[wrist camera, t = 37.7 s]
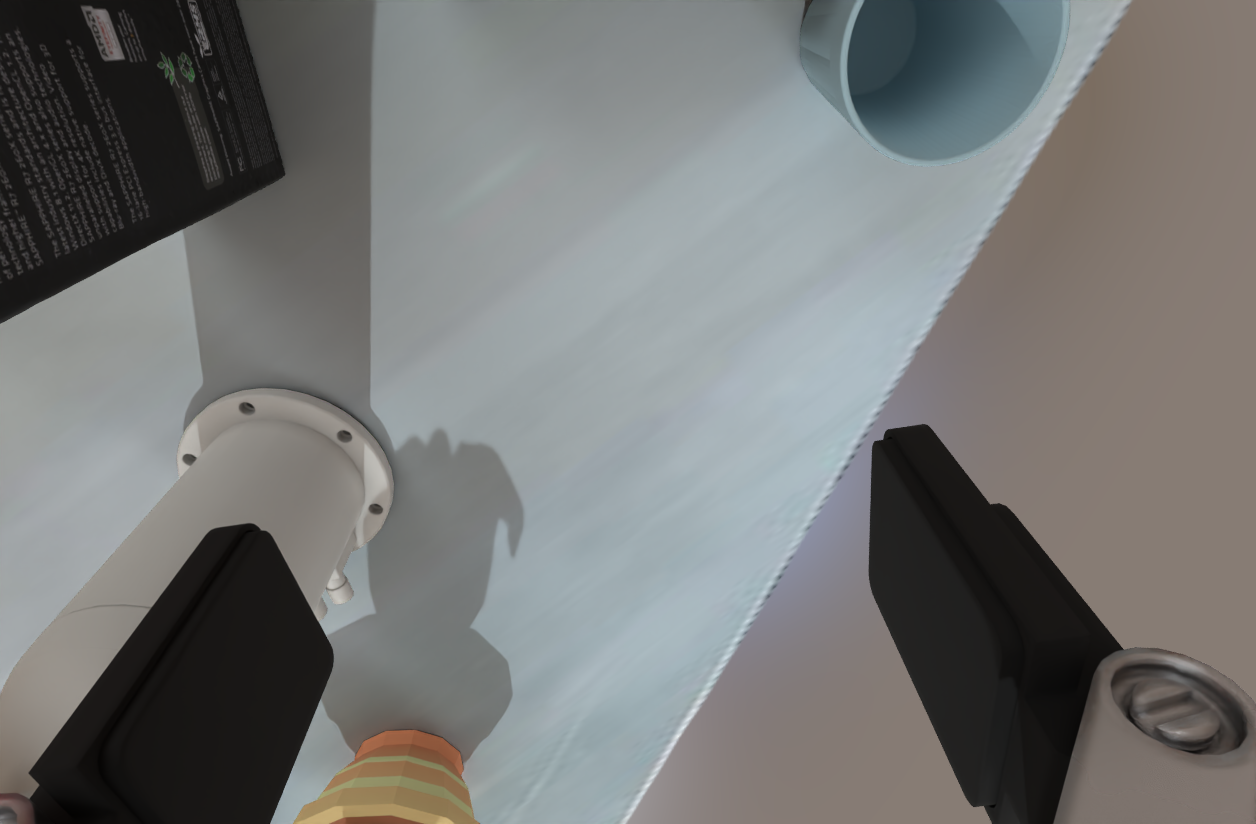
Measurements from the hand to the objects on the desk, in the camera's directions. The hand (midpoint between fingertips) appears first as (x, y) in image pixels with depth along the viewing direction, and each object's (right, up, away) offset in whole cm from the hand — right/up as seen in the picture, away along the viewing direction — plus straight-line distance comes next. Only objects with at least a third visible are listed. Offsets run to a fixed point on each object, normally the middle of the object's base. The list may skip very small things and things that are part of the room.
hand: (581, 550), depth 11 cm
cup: (+11, +20, +22) cm, 32 cm away
